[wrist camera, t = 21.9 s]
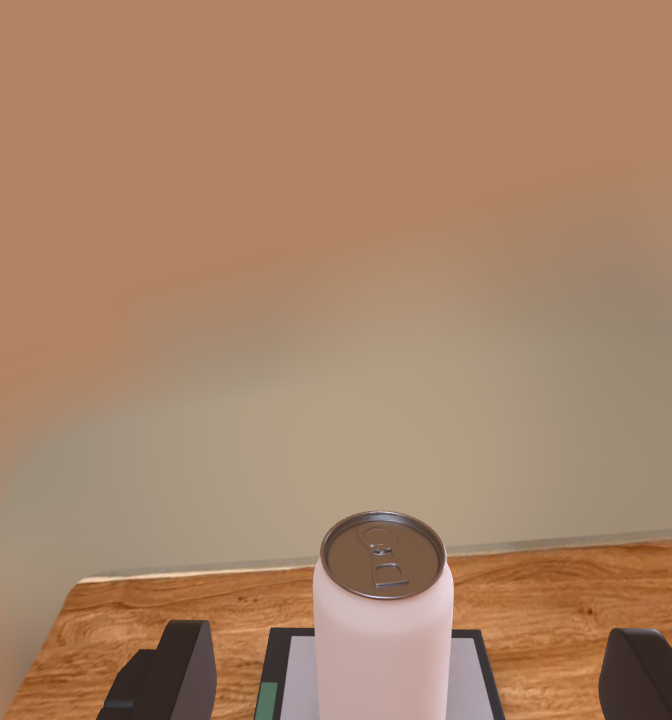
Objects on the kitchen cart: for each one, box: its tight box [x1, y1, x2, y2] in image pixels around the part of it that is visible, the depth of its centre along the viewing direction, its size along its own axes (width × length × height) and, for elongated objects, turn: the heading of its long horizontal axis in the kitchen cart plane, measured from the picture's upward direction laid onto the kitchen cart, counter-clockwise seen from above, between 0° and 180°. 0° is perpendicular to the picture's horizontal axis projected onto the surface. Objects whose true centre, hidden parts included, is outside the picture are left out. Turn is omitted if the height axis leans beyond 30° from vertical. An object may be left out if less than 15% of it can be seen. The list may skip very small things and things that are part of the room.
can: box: [313, 511, 454, 720], centre depth 25 cm, size 6×6×12 cm
